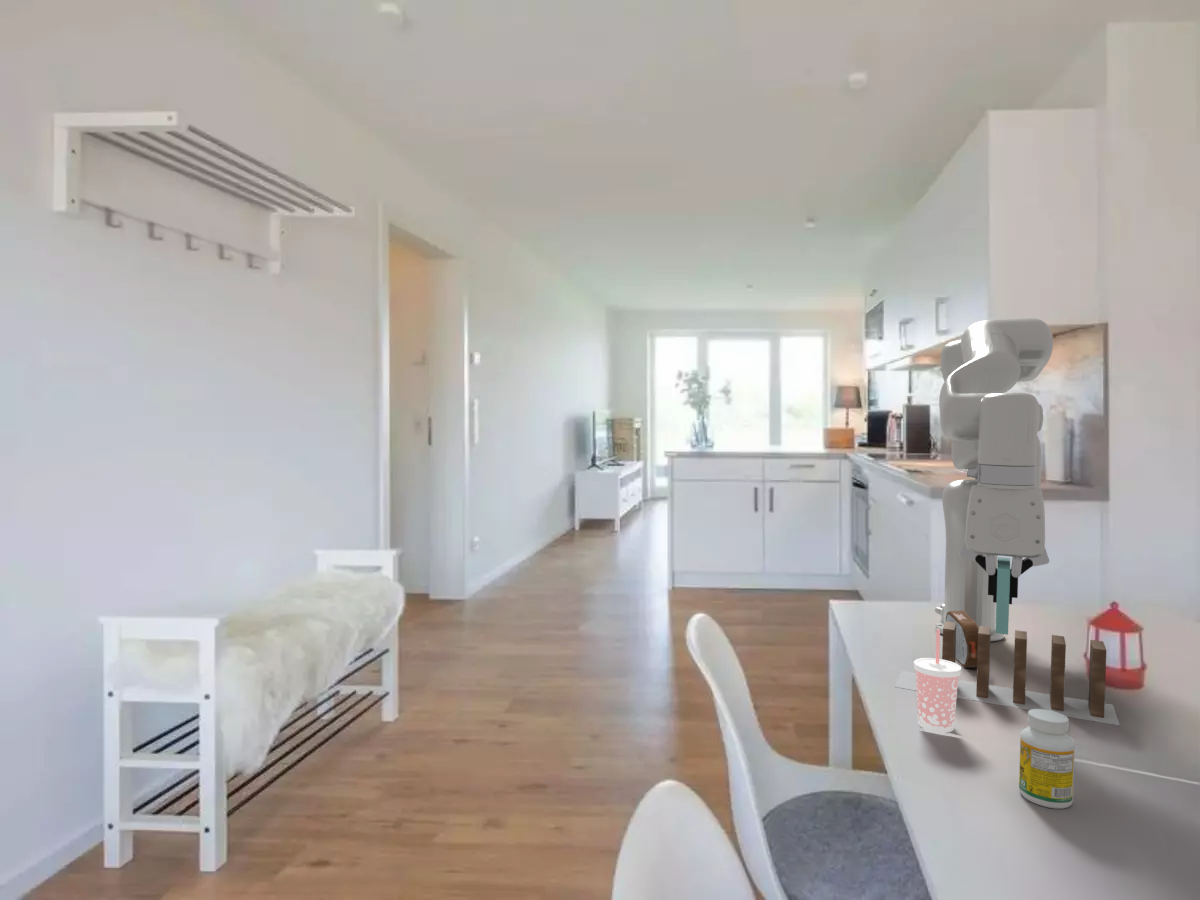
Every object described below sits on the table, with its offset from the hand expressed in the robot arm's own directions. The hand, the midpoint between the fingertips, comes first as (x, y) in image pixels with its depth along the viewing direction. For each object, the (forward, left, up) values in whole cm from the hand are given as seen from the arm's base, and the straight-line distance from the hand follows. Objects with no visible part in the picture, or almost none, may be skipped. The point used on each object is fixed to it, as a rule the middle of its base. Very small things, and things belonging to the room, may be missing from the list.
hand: (1002, 600), depth 110 cm
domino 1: (-10, -1, -16) cm, 19 cm away
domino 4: (-3, +7, -16) cm, 18 cm away
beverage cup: (+3, -13, -17) cm, 22 cm away
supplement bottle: (+23, -14, -17) cm, 32 cm away
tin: (-22, +12, -17) cm, 30 cm away
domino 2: (-7, +3, -16) cm, 18 cm away
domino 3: (-1, +1, -4) cm, 4 cm away
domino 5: (0, +10, -16) cm, 19 cm away
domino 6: (+3, +14, -16) cm, 22 cm away
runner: (-5, +5, -17) cm, 18 cm away
